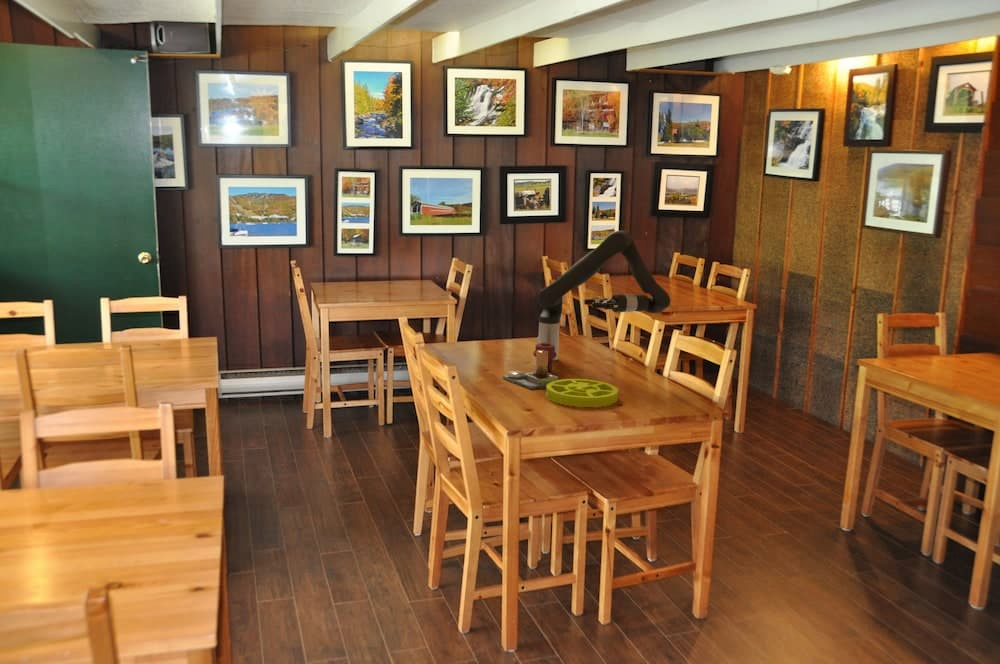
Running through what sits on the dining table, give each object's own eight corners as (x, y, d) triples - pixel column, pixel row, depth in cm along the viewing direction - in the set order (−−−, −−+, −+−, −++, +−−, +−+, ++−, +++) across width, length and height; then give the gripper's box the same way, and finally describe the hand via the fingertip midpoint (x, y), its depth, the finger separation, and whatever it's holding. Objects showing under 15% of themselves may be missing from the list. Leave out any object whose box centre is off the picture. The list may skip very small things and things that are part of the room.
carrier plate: (502, 378, 372) (503, 370, 371) (533, 374, 381) (533, 366, 380) (531, 389, 356) (531, 382, 355) (562, 385, 365) (563, 377, 364)
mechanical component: (533, 367, 393) (556, 368, 392) (531, 372, 384) (555, 374, 383) (534, 339, 391) (557, 341, 390) (533, 344, 381) (556, 346, 380)
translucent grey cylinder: (530, 379, 368) (532, 350, 366) (542, 377, 371) (543, 349, 369) (539, 382, 363) (541, 353, 361) (551, 380, 367) (552, 352, 364)
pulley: (534, 391, 355) (534, 379, 354) (595, 386, 366) (596, 375, 365) (566, 411, 330) (567, 398, 329) (631, 405, 341) (631, 392, 340)
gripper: (617, 291, 382) (582, 292, 377) (632, 297, 368) (595, 297, 364) (616, 309, 383) (581, 309, 378) (630, 315, 370) (594, 315, 365)
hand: (588, 303), depth 371 cm, fingers open, 8 cm apart
